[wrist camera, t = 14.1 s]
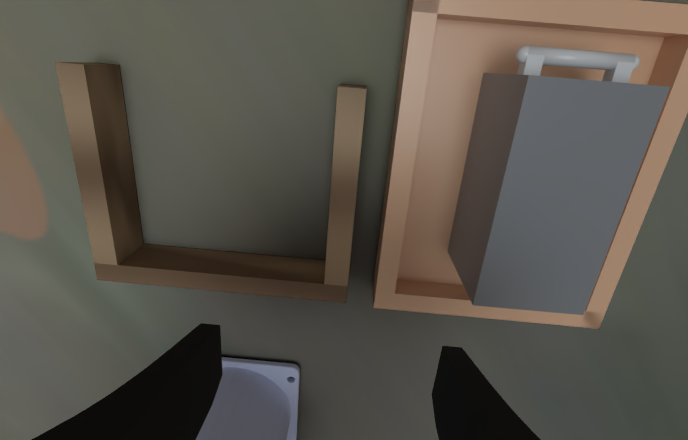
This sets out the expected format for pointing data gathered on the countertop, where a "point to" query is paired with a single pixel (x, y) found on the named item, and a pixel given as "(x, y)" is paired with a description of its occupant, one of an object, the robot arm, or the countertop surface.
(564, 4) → the tray
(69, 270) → the countertop surface
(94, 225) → the bay
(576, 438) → the countertop surface
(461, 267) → the caddy
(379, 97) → the countertop surface
